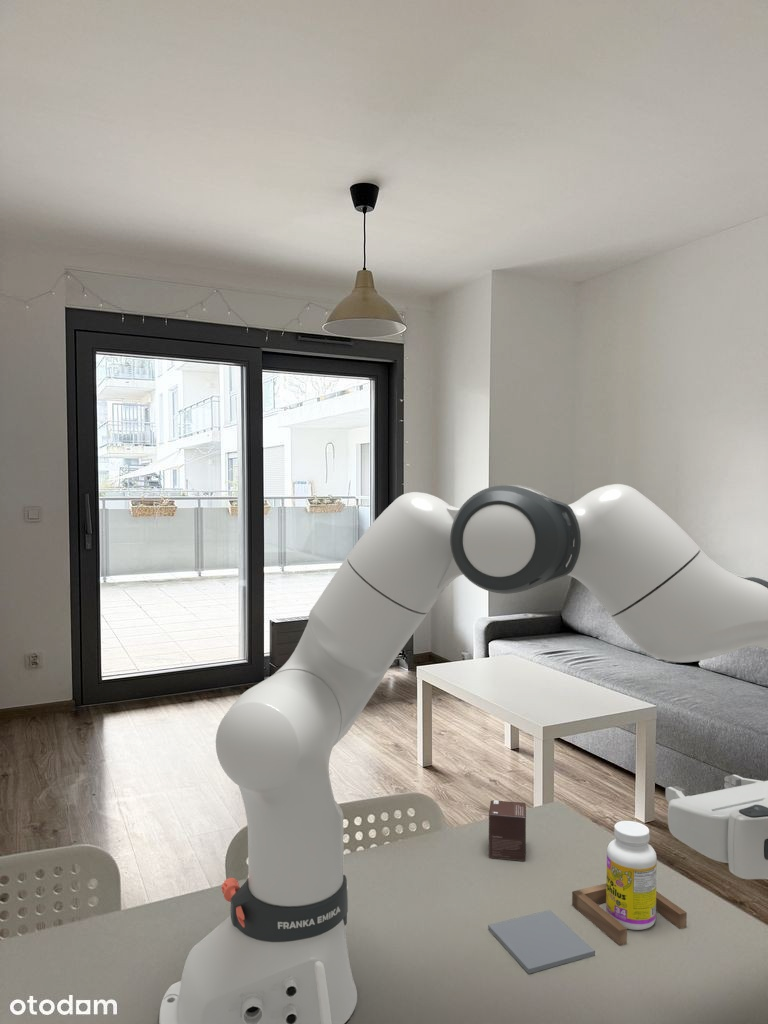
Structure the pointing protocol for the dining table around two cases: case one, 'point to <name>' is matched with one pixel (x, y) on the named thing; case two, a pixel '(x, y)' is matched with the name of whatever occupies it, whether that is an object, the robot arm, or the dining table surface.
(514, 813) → the box
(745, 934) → the dining table surface
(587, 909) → the walnut cradle
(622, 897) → the supplement bottle
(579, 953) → the grey mat
